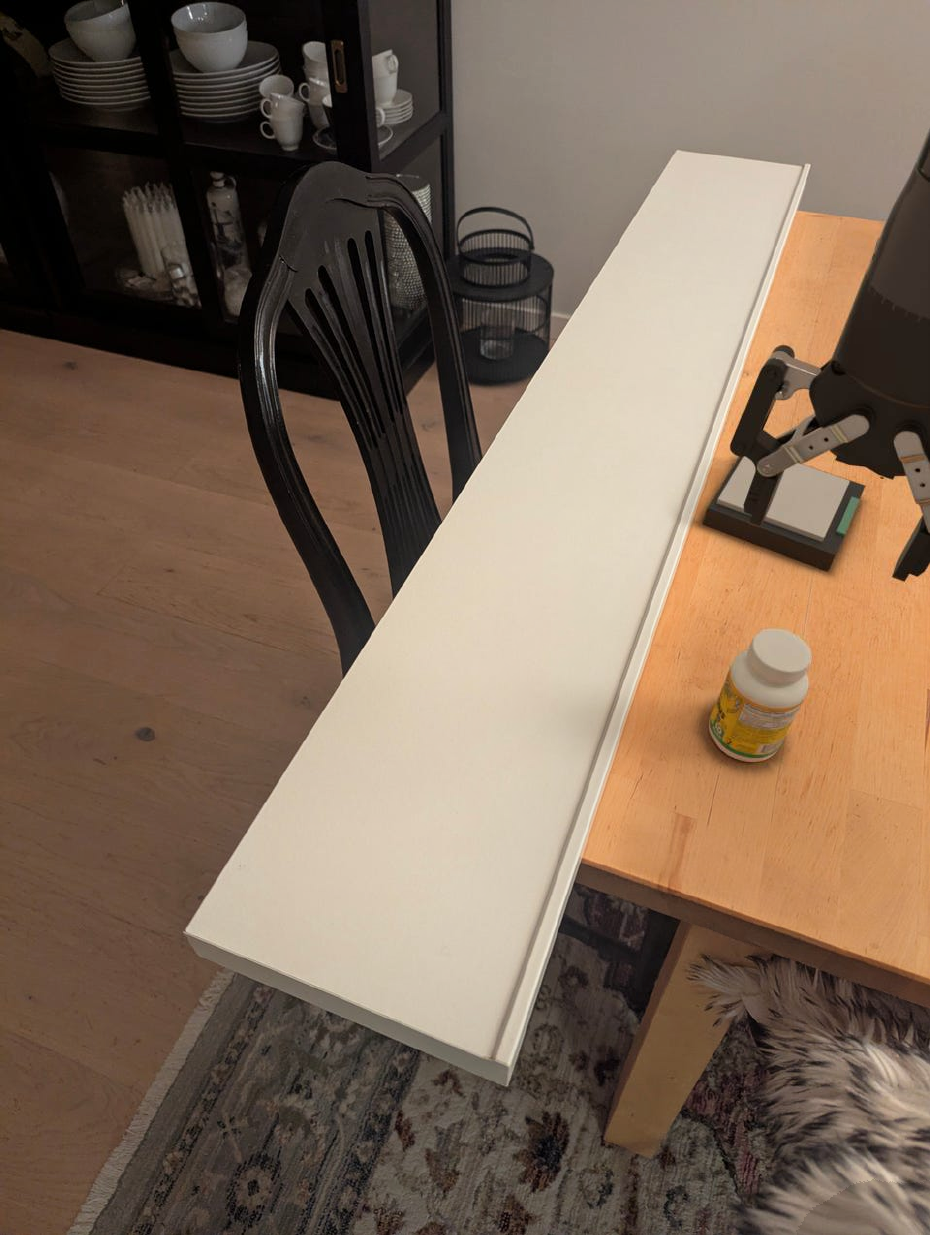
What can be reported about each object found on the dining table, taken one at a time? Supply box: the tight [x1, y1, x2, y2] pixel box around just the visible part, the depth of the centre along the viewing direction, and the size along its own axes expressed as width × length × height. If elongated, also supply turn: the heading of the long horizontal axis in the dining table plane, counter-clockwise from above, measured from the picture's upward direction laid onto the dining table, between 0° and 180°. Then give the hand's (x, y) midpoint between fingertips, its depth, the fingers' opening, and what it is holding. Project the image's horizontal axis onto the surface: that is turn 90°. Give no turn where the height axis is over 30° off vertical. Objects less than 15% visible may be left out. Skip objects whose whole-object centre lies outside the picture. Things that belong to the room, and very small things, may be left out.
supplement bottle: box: [708, 627, 813, 763], centre depth 63 cm, size 5×5×10 cm
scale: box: [702, 456, 866, 572], centre depth 84 cm, size 12×12×3 cm
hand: (827, 544), depth 53 cm, fingers open, 8 cm apart
